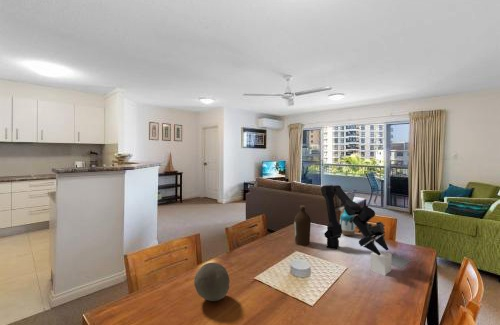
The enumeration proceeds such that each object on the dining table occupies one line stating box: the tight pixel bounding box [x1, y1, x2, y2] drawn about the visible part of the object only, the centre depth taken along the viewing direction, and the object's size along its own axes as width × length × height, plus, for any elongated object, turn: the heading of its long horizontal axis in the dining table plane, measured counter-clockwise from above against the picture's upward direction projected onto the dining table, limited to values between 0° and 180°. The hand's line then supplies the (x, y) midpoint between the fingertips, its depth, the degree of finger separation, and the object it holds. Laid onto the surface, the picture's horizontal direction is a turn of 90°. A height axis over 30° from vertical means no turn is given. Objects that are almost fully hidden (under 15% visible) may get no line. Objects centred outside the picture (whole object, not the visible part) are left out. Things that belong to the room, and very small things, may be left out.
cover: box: [369, 249, 393, 277], centre depth 126 cm, size 7×7×9 cm
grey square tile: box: [391, 254, 412, 269], centre depth 138 cm, size 14×14×1 cm
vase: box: [339, 208, 357, 236], centre depth 179 cm, size 11×11×19 cm
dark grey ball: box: [193, 262, 231, 302], centre depth 103 cm, size 14×14×15 cm
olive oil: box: [293, 205, 312, 247], centre depth 164 cm, size 11×11×25 cm
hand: (384, 252), depth 125 cm, fingers open, 9 cm apart
